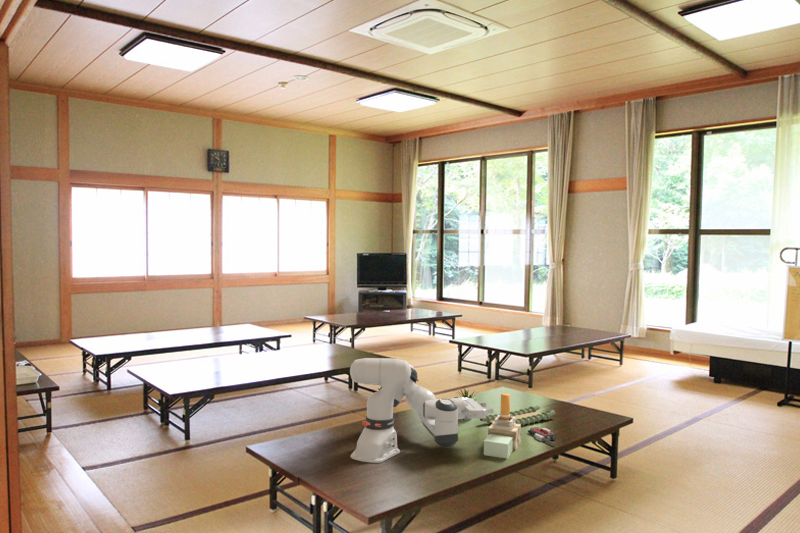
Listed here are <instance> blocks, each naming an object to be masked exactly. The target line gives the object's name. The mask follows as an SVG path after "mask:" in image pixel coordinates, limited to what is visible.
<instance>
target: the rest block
mask: <svg viewBox="0 0 800 533" xmlns="http://www.w3.org/2000/svg"><path fill="white" fill-rule="evenodd" d="M513 451H514V450H513V437H509V436H502V435H495V434H489V435H488V434H487V436H486V437H485V439H484V440H483V456H487V457H488V456H489V457H493V458H500V459H506V460H507V459H509V458H510V456H511V454H512V453H513Z"/></svg>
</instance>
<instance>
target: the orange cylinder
mask: <svg viewBox="0 0 800 533" xmlns="http://www.w3.org/2000/svg"><path fill="white" fill-rule="evenodd" d="M510 404H511V395H510V393H500V413H499V414H500V420H507V421H510V412H511V409H510V407H511V405H510Z"/></svg>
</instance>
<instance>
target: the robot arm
mask: <svg viewBox="0 0 800 533" xmlns="http://www.w3.org/2000/svg"><path fill="white" fill-rule="evenodd" d="M349 374H350V378H351V380H353V382H354V383H358V384H362V385H363V384H364V385H370V386H371V385H372V386H378V389H377V391H375V392H373V393H371V394H370V395H369V396H368V398H367V400H366V416H365V419H364V420H363V421H362V422H361V424H362V426H363V427H364V428H363V430H362V432H361V433H360V435H359V438H358V440H356V448H355V449H354V450H353V452H352V453H351V454H350V458H351V459H352V460H355V461H359V462H362V463H363V462H364V463H373V464H378V463H379V464H380V463H381V464H382V463H383V462H385V461H387V460H389V459H390V458H393V457H394V456H396V455H398V454H400V453H401V449H399V448H398V437H397V436H398V435H397V431H396V429H395V428H394V426H395V423H394V422H395V417H394V408H396V407H397V406H398V405H400V403H401V401H402V400H403V398H404V397H405V400H406V402H407V404H408V406H409V407H410V408H412V409H413V410H414V411H415V412H416V414H417V416H418V417H419V419H420V421H421V424H422V425H423V426H424V428H425V429H426V430H427V431H428V432H429V434H430V435H431V436H432V437H433V441H434V443H436V444H437V445H438V446H439V447H441V448H446V449H447V448H452V447H453V446H455V445H456V444H457V443H458V441H459V433H458V430H459V428H458V427H459V424H458V423H459V420H463V419H464V418H465V416H468V417H469V418H472V419H477V420H480V419H483V418H486V415H488V414H489V415H490V414H493V413H494V408H492V407H489V408H486V407H487V403H486V402H485V401H478V402H476V401H477V400H475V399H473V397H472V398H464V397H463V398H460V397H458V396H453V397H452V398H436V395H435V394H434V392H432V391H431V390H430V389H428V388H425V387H424V386H420V385H418V384H417V382H419V379H418V372H417V370H416V369H415V367H414V366H413V365H412V364H410V363H409V362H408V361H407V360H405V359H400V358H390V357H387V358H386V357H381V358H380V357H364V358H359V359H358V358H357V359H355V360H354V361H353V362H352V363H351V365H350V368H349ZM379 386H380V388H379ZM474 400H475V401H474Z"/></svg>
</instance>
